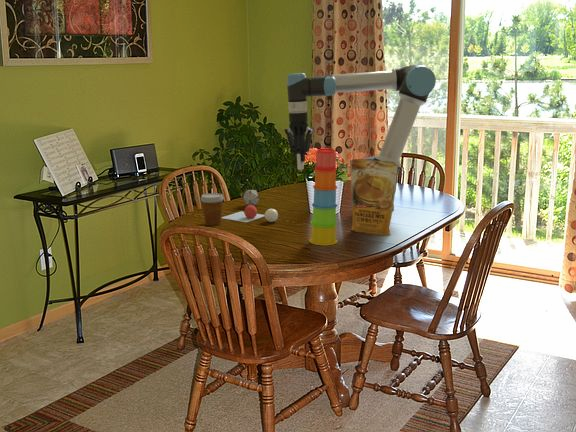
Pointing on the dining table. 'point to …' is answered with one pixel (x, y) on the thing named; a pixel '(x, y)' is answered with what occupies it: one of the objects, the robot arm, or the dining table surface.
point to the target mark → (241, 217)
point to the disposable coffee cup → (212, 208)
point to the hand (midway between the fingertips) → (300, 169)
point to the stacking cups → (324, 199)
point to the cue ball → (271, 215)
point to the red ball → (250, 211)
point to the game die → (251, 197)
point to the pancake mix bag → (372, 195)
